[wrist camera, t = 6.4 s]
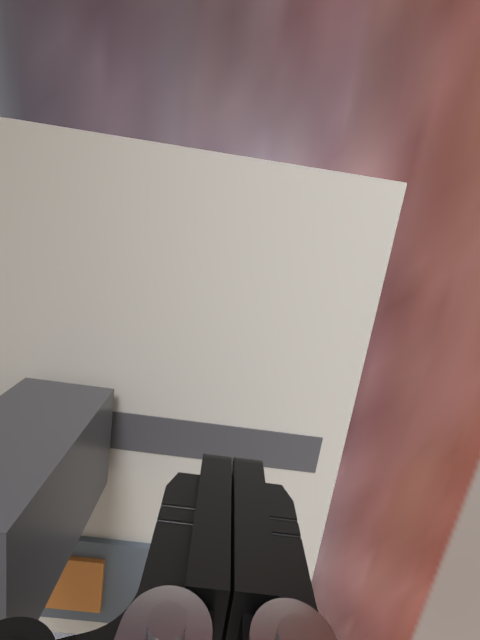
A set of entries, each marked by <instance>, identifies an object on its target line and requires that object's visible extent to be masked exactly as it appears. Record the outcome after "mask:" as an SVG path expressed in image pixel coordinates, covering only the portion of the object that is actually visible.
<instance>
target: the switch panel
mask: <svg viewBox="0 0 480 640" xmlns="http://www.w3.org/2000/svg"><path fill="white" fill-rule="evenodd" d="M406 186H407V183H404V182H398V181H392V180H386V179H380V178H374V177H368V176H361V175H355V174H349V173H343V172H337V171H331V170H325V169H318V168H312V167H306V166H300V165H294V164H288V163H282V162H275V161H269V160H263V159H257V158H251V157H245V156H239V155H232V154H226V153H220V152H214V151H208V150H202V149H196V148H189V147H183V146H177V145H171V144H165V143H159V142H153V141H146V140H140V139H134V138H128V137H122V136H116V135H110V134H103V133H97V132H91V131H85V130H79V129H73V128H67V127H60V126H54V125H48V124H42V123H36V122H30V121H24V120H17V119H11V118H5V117H0V395H2V394H3V393H5V392H6V391H7V390H9V389H10V388H12V387H13V386H15V385H16V384H17V383H19V382H20V381H22V380H23V379H24V378H33V379H41V380H49V381H57V382H64V383H72V384H80V385H88V386H95V387H103V388H111V389H114V400H113V413H112V427H111V440H110V454H109V467H108V481H107V484H106V486H105V488H104V490H103V492H102V494H101V496H100V498H99V500H98V502H97V504H96V506H95V508H94V510H93V512H92V514H91V516H90V518H89V520H88V522H87V524H86V526H85V528H84V530H83V532H82V534H81V536H80V538H79V540H78V542H77V544H76V546H75V548H74V550H73V552H72V554H71V556H70V558H69V560H68V562H67V564H66V566H65V568H64V570H63V572H62V574H61V576H60V578H59V580H58V582H57V584H56V586H55V588H54V590H53V592H52V594H51V596H50V598H49V600H48V602H47V604H46V606H45V608H44V610H43V612H42V614H41V616H40V618H39V621H41V622H42V623H44V624H45V625H46V626H47V627H48V628H49V629H50V630H51V632H59V633H69V634H81V633H85V632H89V631H92V630H95V629H98V628H100V627H102V626H104V625H106V624H108V623H110V622H111V621H113V620H114V619H116V618H117V617H118V616H119V615H120V614H122V613H123V612H124V611H125V609H126V608H127V607H128V606H129V605H130V603H131V602H132V601H133V599H134V597H135V595H136V593H137V591H138V588H139V586H140V582H141V578H142V575H143V571H144V567H145V563H146V559H147V556H148V552H149V548H150V544H151V541H152V537H153V533H154V529H155V526H156V522H157V518H158V514H159V511H160V507H161V503H162V499H163V495H164V492H165V488H166V485H167V484H168V483H169V482H170V481H171V480H172V479H173V478H174V477H175V476H176V474H177V473H178V472H181V473H189V474H197V475H200V471H201V465H202V458H203V453H204V454H212V455H220V456H228V457H232V461H233V458H234V457H237V458H245V459H253V460H260V461H262V462H263V467H264V475H265V483H271V484H279V485H282V486H283V487H284V489H285V490H286V491H287V493H288V494H289V496H290V497H291V498H292V500H293V501H294V506H295V511H296V515H297V523H298V524H299V529H300V534H301V539H302V543H303V547H304V552H305V556H306V561H307V566H308V570H309V575H310V579H311V582H312V577H313V573H314V569H315V565H316V561H317V557H318V552H319V548H320V544H321V540H322V536H323V532H324V527H325V523H326V519H327V515H328V511H329V507H330V502H331V498H332V494H333V490H334V486H335V482H336V477H337V473H338V469H339V465H340V461H341V457H342V453H343V448H344V444H345V440H346V436H347V432H348V428H349V423H350V419H351V415H352V411H353V407H354V403H355V398H356V394H357V390H358V386H359V382H360V378H361V373H362V369H363V365H364V361H365V357H366V353H367V348H368V344H369V340H370V336H371V332H372V328H373V323H374V319H375V315H376V311H377V307H378V303H379V299H380V294H381V290H382V286H383V282H384V278H385V274H386V269H387V265H388V261H389V257H390V253H391V249H392V244H393V240H394V236H395V232H396V228H397V224H398V219H399V215H400V211H401V207H402V203H403V199H404V194H405V190H406Z"/></svg>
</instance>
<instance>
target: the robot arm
mask: <svg viewBox="0 0 480 640" xmlns="http://www.w3.org/2000/svg"><path fill="white" fill-rule="evenodd" d="M0 640H55V638H54V636H53V634H52V632H51V630H50V629H49V628H48V627H47V626H46V625H45V624H44V623H42V622H41V621H39V620H37V619H34V618H30V617H11V618H5V619H2V620H0ZM57 640H337V639H336V636H335V634H334V632H333V630H332V628H331V627H330V625H329V624H328V622H327V621H326V620H325V619H324V618H323V617H322V615H321V614H320V613H319V612H318V609H317V606H316V602H315V598H314V593H313V589H312V584H311V579H310V575H309V570H308V566H307V561H306V556H305V552H304V547H303V543H302V539H301V534H300V529H299V524H298V523H297V515H296V511H295V506H294V501H293V500H292V498H291V497H290V496H289V494H288V493H287V491H286V490H285V489H284V487H283V486H282V485H279V484H271V483H265V475H264V467H263V462H262V461H260V460H253V459H245V458H237V457H234V458H233V461H232V457H228V456H220V455H212V454H204V453H203V458H202V465H201V471H200V475H197V474H189V473H181V472H178V473H177V474H176V476H175V477H174V478H173V479H172V480H171V481H170V482H169V483H168V484H167V485H166V488H165V492H164V495H163V499H162V503H161V507H160V511H159V514H158V518H157V522H156V526H155V529H154V533H153V537H152V541H151V544H150V548H149V552H148V556H147V559H146V563H145V567H144V571H143V575H142V578H141V582H140V586H139V588H138V591H137V593H136V595H135V597H134V599H133V601H132V602H131V603H130V605H129V606H128V607H127V608H126V609H125V611H124V612H123V613H122V614H120V615H119V616H118V617H117V618H116V619H114V620H113V621H111V622H110V623H108V624H106V625H104V626H102V627H100V628H98V629H95V630H92V631H89V632H85V633H81V634H77V635H73V636H69V637H65V638H61V639H57Z"/></svg>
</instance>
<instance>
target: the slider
mask: <svg viewBox="0 0 480 640" xmlns="http://www.w3.org/2000/svg"><path fill="white" fill-rule="evenodd" d="M113 400H114V389H111V388H103V387H95V386H88V385H80V384H72V383H64V382H57V381H49V380H41V379H33V378H24V379H23V380H22V381H20V382H19V383H17V384H16V385H15V386H13V387H12V388H10V389H9V390H7V391H6V392H5V393H3V394H2V395H0V620H2V619H5V618H11V617H30V618H34V619H37V620H39V618H40V616H41V614H42V612H43V610H44V608H45V606H46V604H47V602H48V600H49V598H50V596H51V594H52V592H53V590H54V588H55V586H56V584H57V582H58V580H59V578H60V576H61V574H62V572H63V570H64V568H65V566H66V564H67V562H68V560H69V558H70V556H71V554H72V552H73V550H74V548H75V546H76V544H77V542H78V540H79V538H80V536H81V534H82V532H83V530H84V528H85V526H86V524H87V522H88V520H89V518H90V516H91V514H92V512H93V510H94V508H95V506H96V504H97V502H98V500H99V498H100V496H101V494H102V492H103V490H104V488H105V486H106V484H107V481H108V467H109V454H110V440H111V427H112V413H113Z"/></svg>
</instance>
